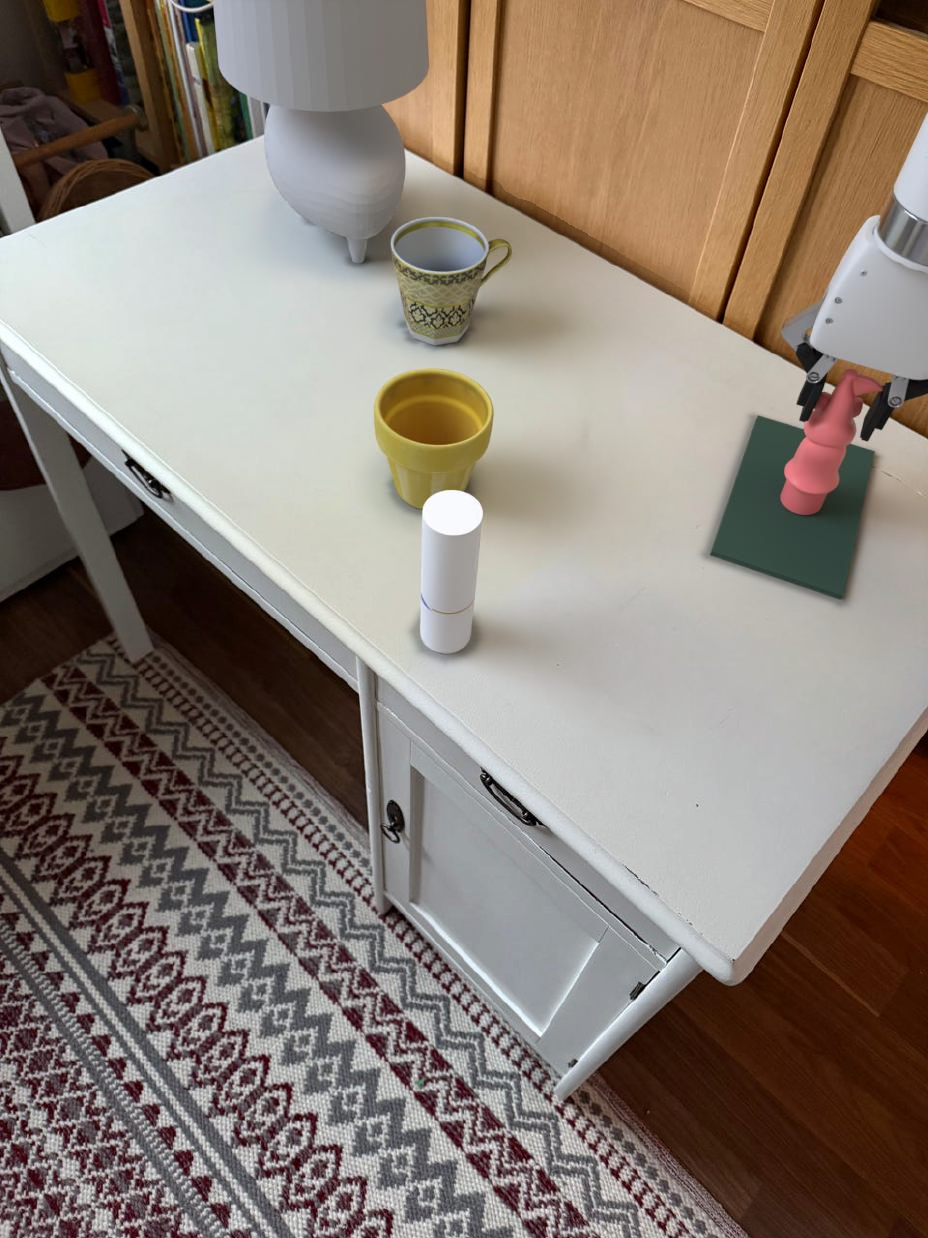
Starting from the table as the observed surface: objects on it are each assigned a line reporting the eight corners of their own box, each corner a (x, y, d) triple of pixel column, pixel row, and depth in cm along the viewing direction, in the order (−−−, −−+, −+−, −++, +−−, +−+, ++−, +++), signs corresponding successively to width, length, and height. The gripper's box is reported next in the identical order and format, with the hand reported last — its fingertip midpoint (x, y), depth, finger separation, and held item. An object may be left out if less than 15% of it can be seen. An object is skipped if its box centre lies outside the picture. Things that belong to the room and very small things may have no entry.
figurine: (831, 486, 87) (889, 356, 76) (829, 523, 84) (889, 395, 73) (776, 476, 88) (825, 346, 76) (772, 512, 85) (823, 383, 73)
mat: (872, 455, 92) (874, 450, 91) (840, 599, 81) (843, 595, 80) (756, 419, 94) (757, 414, 93) (709, 555, 83) (711, 550, 82)
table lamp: (459, 266, 106) (482, -173, 74) (283, 307, 100) (223, -152, 68) (384, 169, 118) (376, -248, 85) (222, 200, 112) (146, -236, 79)
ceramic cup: (406, 363, 96) (406, 279, 88) (380, 306, 101) (378, 223, 93) (520, 342, 99) (531, 260, 91) (489, 288, 104) (496, 206, 96)
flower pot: (476, 442, 90) (483, 362, 82) (494, 521, 84) (503, 443, 76) (371, 450, 88) (368, 369, 80) (382, 530, 82) (380, 452, 74)
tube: (480, 626, 77) (494, 506, 65) (453, 662, 75) (462, 544, 62) (438, 603, 78) (443, 481, 66) (410, 637, 76) (410, 517, 64)
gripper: (1061, 230, 64) (938, 423, 79) (824, 170, 67) (749, 367, 82) (1059, 288, 60) (929, 480, 75) (806, 221, 63) (730, 418, 78)
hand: (836, 419), depth 79 cm, fingers closed on figurine, 4 cm apart
